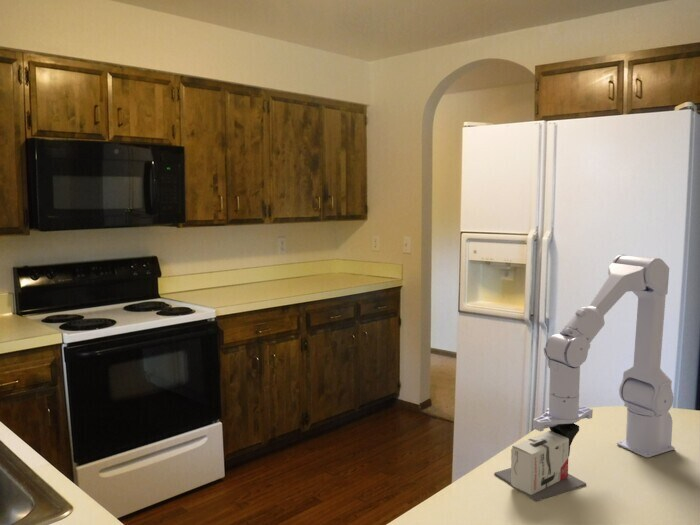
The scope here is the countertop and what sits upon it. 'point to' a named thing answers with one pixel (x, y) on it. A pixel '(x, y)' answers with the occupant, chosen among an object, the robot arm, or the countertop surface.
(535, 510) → the countertop surface
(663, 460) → the countertop surface
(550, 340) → the robot arm
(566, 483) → the mat
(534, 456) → the ink box
